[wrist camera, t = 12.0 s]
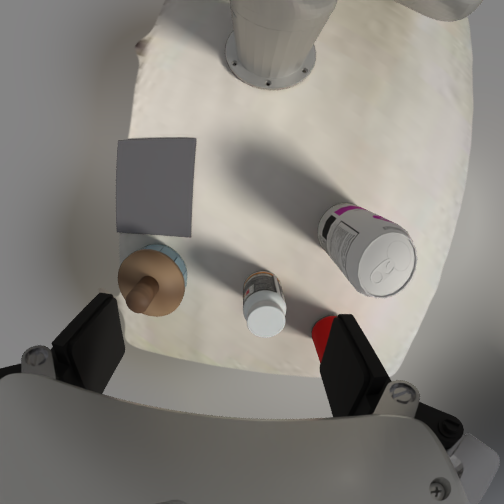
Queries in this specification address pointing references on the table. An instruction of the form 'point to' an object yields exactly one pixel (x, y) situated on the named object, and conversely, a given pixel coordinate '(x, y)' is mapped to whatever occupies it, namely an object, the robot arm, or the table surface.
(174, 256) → the bowl
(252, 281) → the pill bottle
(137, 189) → the mat
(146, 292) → the lid
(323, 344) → the beverage can
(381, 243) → the supplement can
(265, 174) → the table surface
